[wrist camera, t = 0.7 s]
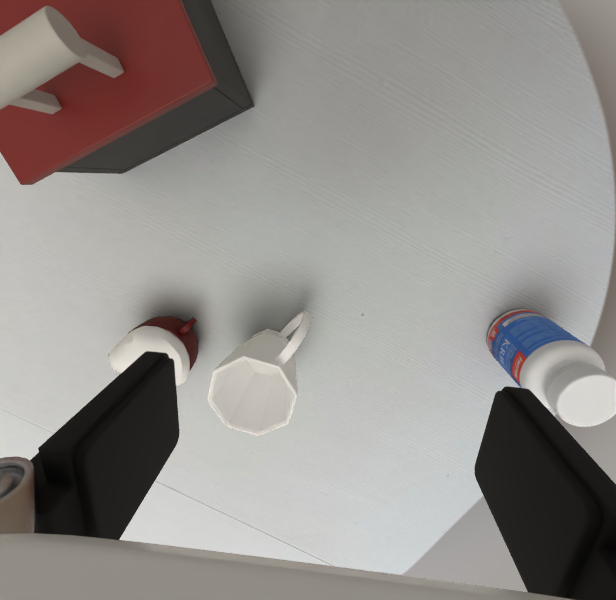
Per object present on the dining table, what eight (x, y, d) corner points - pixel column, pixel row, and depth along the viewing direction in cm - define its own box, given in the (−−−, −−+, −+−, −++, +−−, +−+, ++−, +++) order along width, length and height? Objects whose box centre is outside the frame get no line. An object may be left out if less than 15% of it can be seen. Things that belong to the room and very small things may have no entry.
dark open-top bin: (254, 106, 27) (212, 68, 18) (122, 173, 30) (24, 171, 20) (167, -104, 23) (56, -288, 14) (23, -7, 26) (-150, -109, 17)
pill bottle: (476, 321, 31) (535, 381, 22) (539, 297, 30) (627, 349, 21) (495, 371, 33) (557, 445, 24) (555, 349, 32) (645, 419, 22)
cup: (221, 352, 34) (188, 401, 27) (281, 276, 31) (263, 307, 24) (278, 393, 35) (261, 451, 28) (341, 323, 32) (343, 367, 25)
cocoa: (199, 296, 33) (127, 358, 21) (227, 353, 34) (173, 439, 23) (114, 325, 34) (6, 397, 23) (145, 378, 36) (57, 470, 25)
